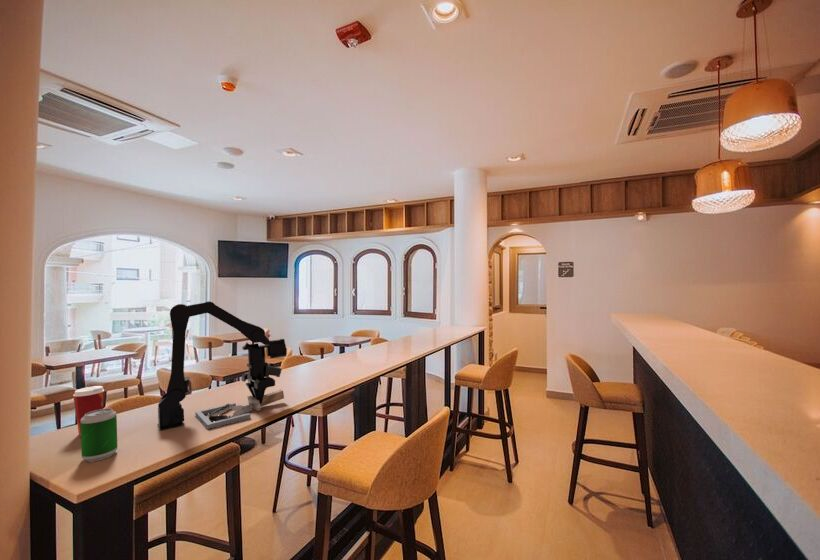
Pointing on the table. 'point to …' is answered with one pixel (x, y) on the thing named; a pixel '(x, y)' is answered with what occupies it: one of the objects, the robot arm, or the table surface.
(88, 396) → the paper cup
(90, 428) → the soda can
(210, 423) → the tile frame
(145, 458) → the table surface
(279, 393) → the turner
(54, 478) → the table surface
